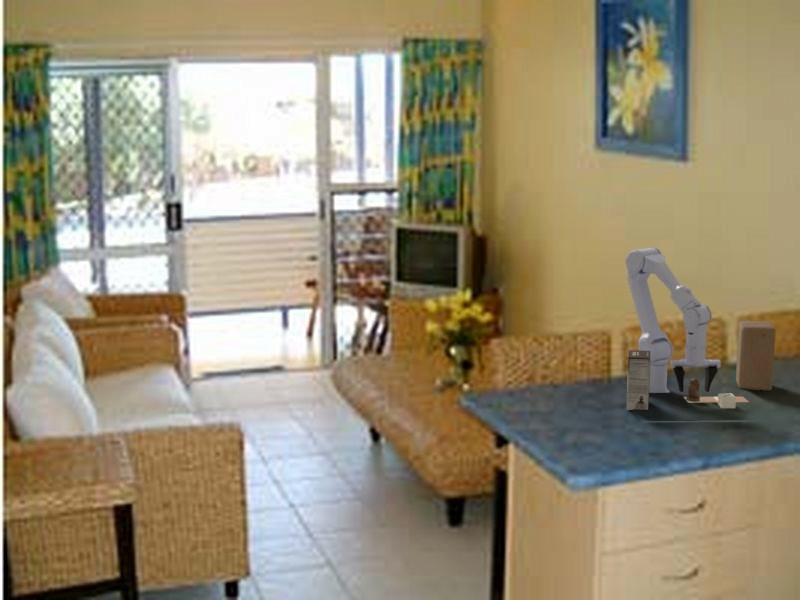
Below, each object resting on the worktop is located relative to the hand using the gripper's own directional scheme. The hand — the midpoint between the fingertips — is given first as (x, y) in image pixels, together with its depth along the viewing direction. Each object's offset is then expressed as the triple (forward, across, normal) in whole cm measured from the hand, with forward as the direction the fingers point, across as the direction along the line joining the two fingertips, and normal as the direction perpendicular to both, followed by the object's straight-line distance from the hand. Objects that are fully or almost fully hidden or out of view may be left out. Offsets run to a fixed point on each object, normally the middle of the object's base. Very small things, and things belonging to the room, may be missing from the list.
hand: (693, 390), depth 333 cm
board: (+3, +7, 0) cm, 7 cm away
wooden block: (+3, +23, +16) cm, 28 cm away
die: (+3, +8, -7) cm, 11 cm away
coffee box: (+3, -18, -5) cm, 19 cm away
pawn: (+3, 0, 0) cm, 3 cm away
